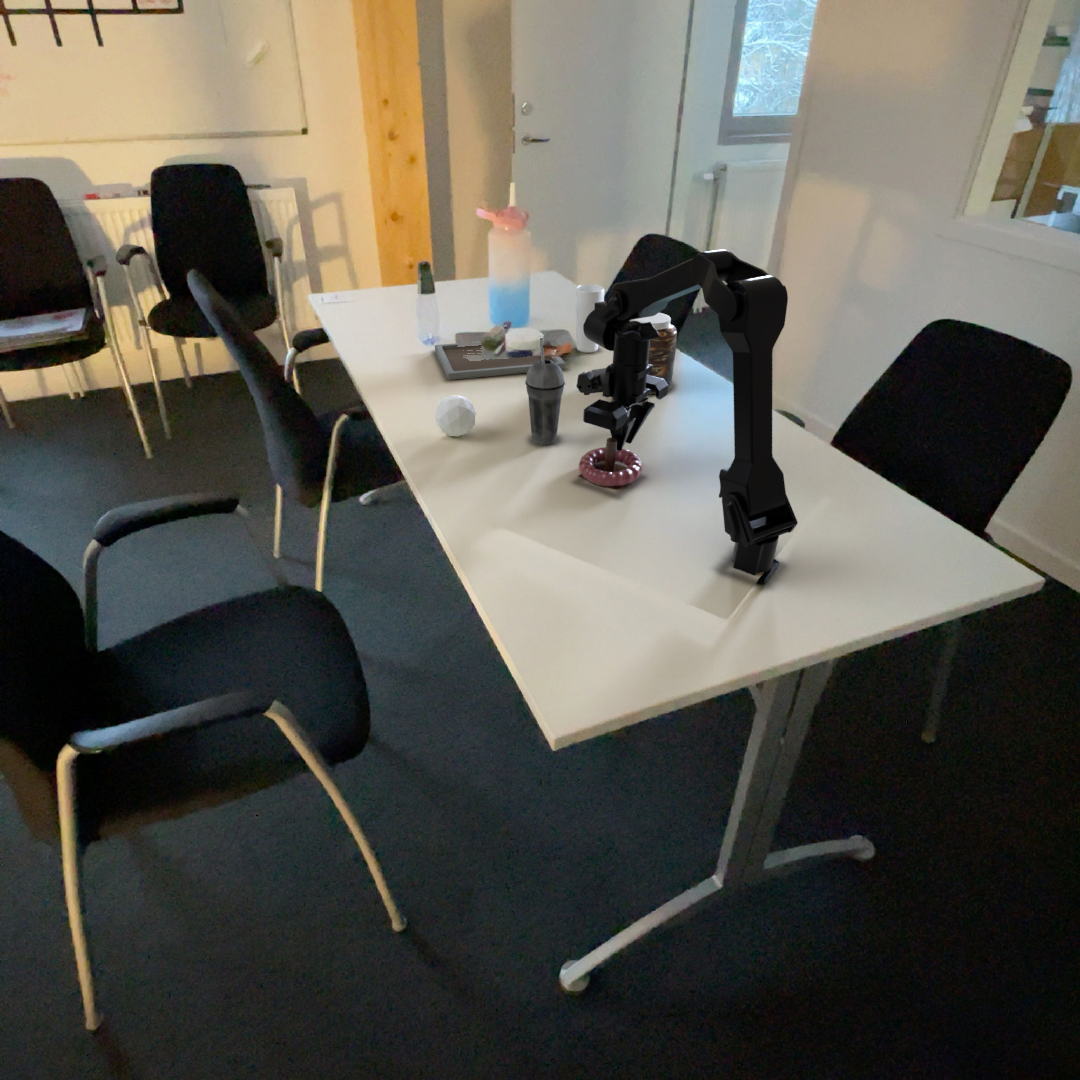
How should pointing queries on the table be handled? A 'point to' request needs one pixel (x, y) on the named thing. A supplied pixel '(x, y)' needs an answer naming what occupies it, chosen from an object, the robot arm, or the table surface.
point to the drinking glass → (586, 313)
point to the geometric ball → (455, 415)
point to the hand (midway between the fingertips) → (623, 446)
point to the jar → (662, 347)
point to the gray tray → (483, 363)
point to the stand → (609, 461)
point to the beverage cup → (544, 398)
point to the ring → (610, 477)
